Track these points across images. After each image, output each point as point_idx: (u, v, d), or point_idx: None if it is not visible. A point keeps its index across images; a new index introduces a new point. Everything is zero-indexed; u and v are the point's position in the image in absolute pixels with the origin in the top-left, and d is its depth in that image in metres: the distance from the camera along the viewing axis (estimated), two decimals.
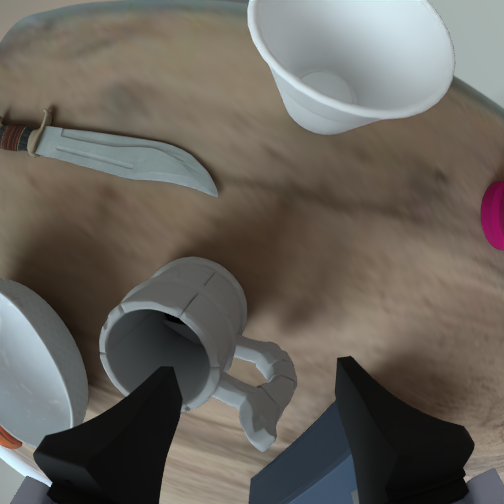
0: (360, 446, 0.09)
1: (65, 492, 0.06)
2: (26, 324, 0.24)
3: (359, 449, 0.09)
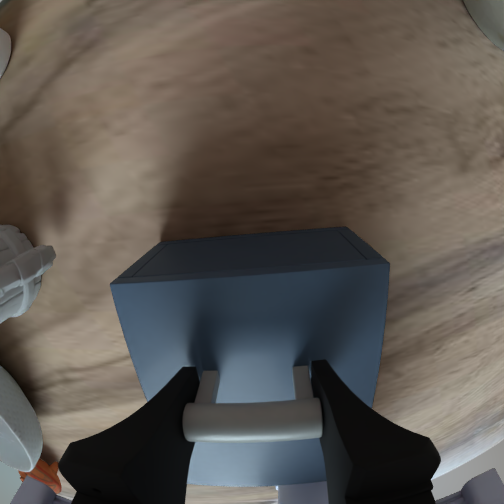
0: (329, 451, 0.09)
1: (91, 501, 0.06)
2: None
3: (328, 454, 0.09)
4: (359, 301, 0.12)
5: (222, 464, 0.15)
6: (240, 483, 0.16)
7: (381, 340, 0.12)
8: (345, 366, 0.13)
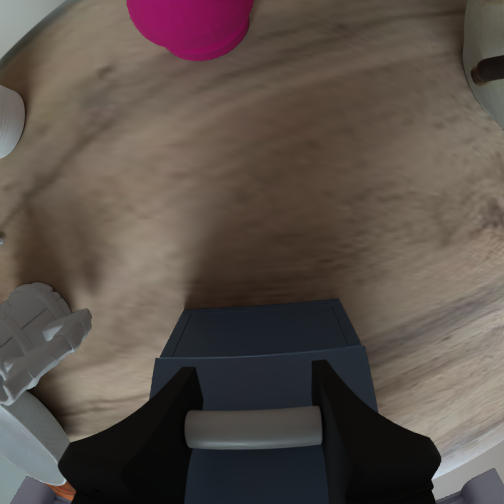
0: (329, 451, 0.09)
1: (91, 501, 0.06)
2: None
3: (329, 454, 0.09)
4: (346, 374, 0.14)
5: None
6: None
7: (375, 407, 0.13)
8: None
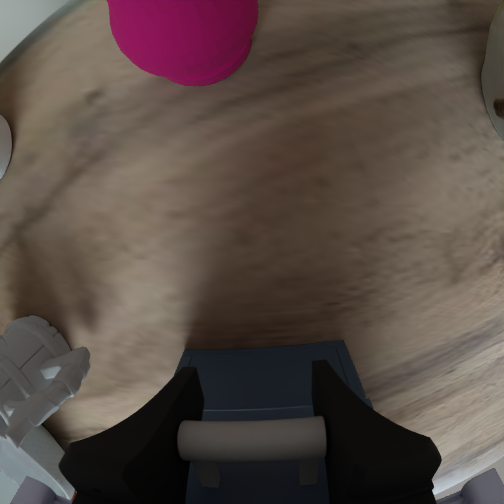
0: (329, 451, 0.09)
1: (92, 501, 0.06)
2: None
3: (329, 454, 0.09)
4: None
5: None
6: None
7: None
8: None
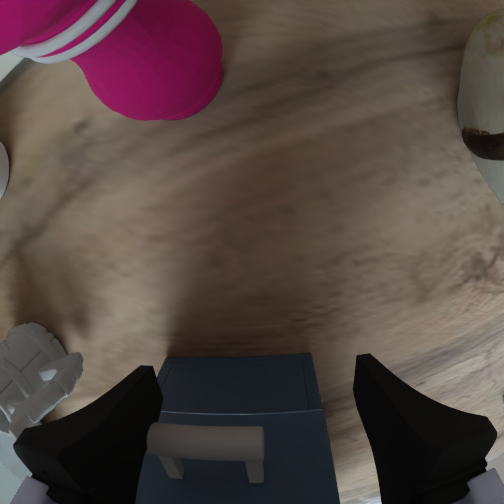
0: (383, 441, 0.08)
1: (43, 483, 0.06)
2: None
3: (382, 444, 0.09)
4: (304, 429, 0.15)
5: None
6: None
7: (330, 455, 0.13)
8: (300, 475, 0.12)
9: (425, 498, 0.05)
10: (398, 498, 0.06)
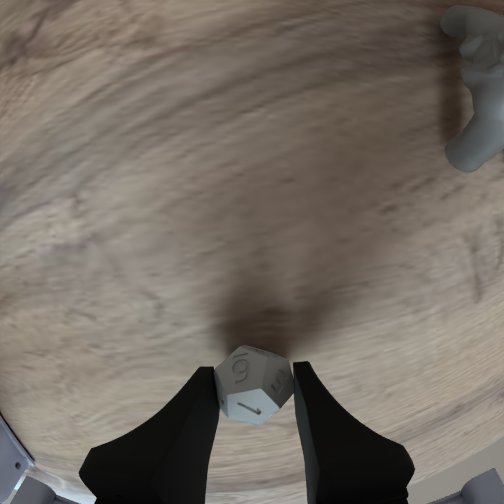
0: (306, 454, 0.09)
1: None
2: None
3: (306, 456, 0.09)
4: None
5: None
6: None
7: None
8: None
9: None
10: None
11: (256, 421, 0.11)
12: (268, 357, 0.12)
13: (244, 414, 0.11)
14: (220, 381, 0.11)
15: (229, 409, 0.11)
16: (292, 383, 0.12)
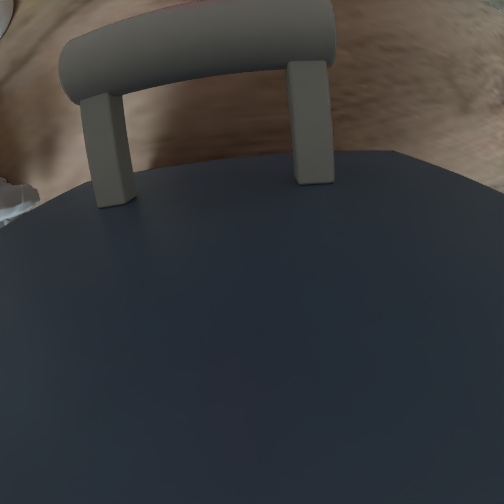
0: None
1: None
2: None
3: None
4: (375, 156, 0.09)
5: None
6: None
7: (443, 168, 0.07)
8: (411, 177, 0.06)
9: None
10: None
11: None
12: None
13: None
14: None
15: None
16: None
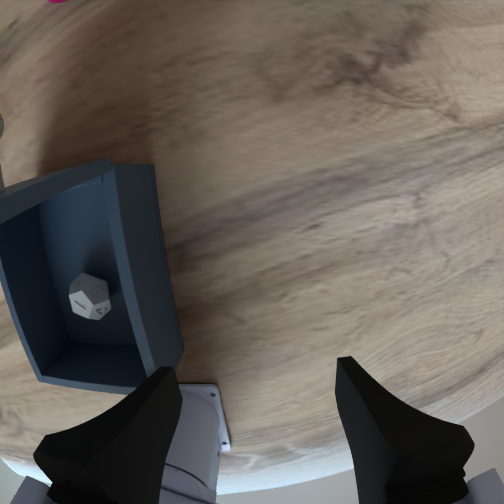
0: (360, 446, 0.09)
1: (65, 492, 0.06)
2: None
3: (359, 449, 0.09)
4: (73, 167, 0.12)
5: None
6: None
7: (69, 170, 0.10)
8: (25, 184, 0.09)
9: None
10: None
11: (86, 315, 0.20)
12: (91, 276, 0.20)
13: (79, 309, 0.19)
14: (69, 289, 0.20)
15: (72, 305, 0.19)
16: (106, 295, 0.20)
